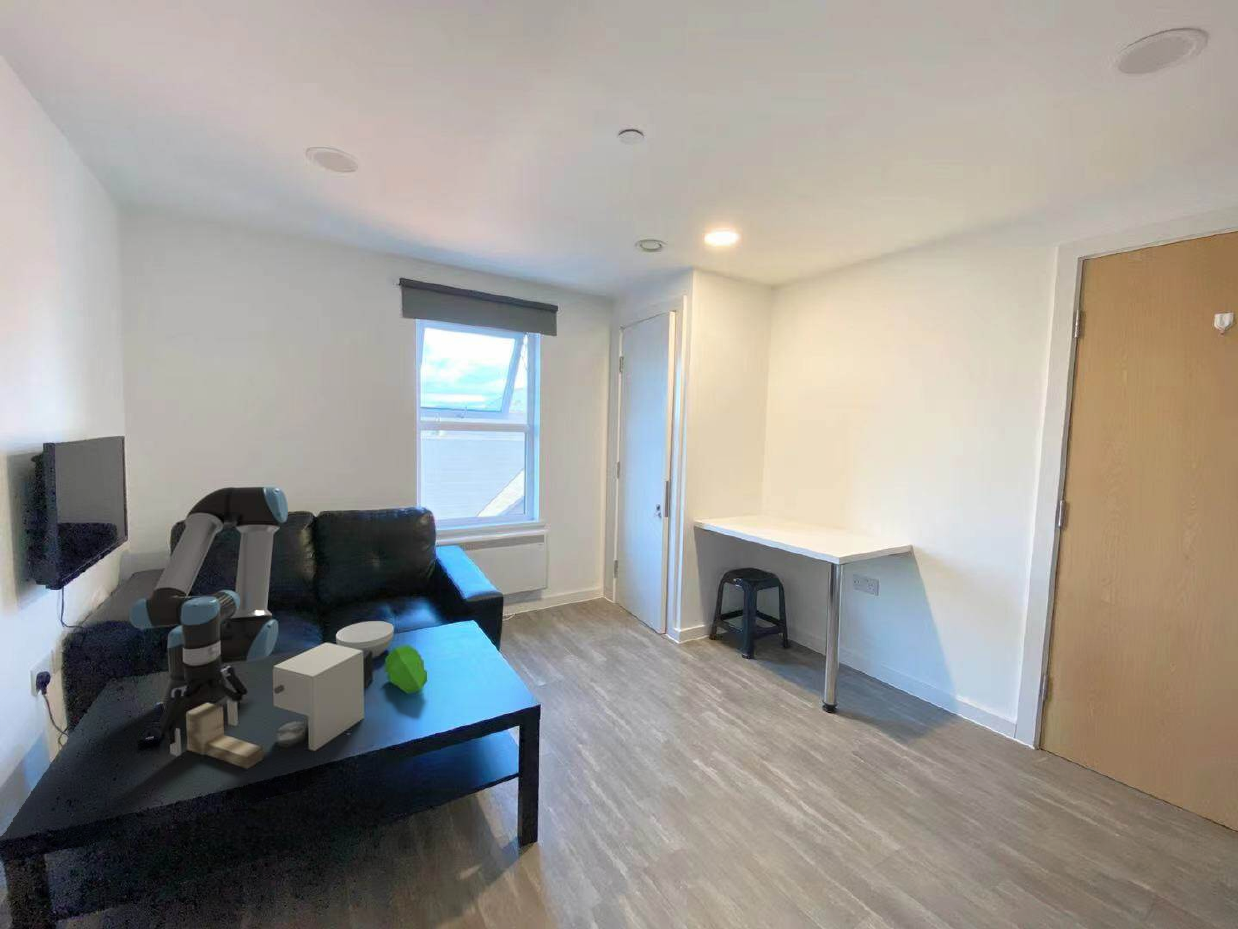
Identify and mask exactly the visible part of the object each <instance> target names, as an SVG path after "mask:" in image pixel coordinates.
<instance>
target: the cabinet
mask: <svg viewBox="0 0 1238 929" xmlns="http://www.w3.org/2000/svg"><path fill="white" fill-rule="evenodd" d="M272 683H273V684H272V686H273V688H272V689H273V691H272V692H273V693H272V694H273V706H274V707H277V708H279V709H283V710H286V711H289V712H292V713H293V712H294V713H297V714H300V715H304V716H307V717H308V718H307V721H308V728H307V729H308V730H307V731H308V750H311V751H314V752H315V751H317V750H318V749H320V748H321V747H323V746H324V745H326V744H327V743H329V742H330V741H332V740H334V739H335V738H336V737H338V736H339V735H340V734H342V733H344V732H345V731H347V730H348V729H351V727H353V726H354V725H355V724H358V722H360V721H362V720H363V719H365V695H364V694H365V693H364V692H365V689H364V676H363V651H362V650H357V649H353V648H348V647H344V646H339V645H337V644H335V643H331V642H323V643H322V644H320V645H318V646H315V647H313V648H311V649H308V650H306V651H304V652H302V653H300V654H297V655H295V656H293V657H291V658H288V659H287V660H284V661H282V662H280V663H278V664H276V665H275V664H274V666H273V669H272Z"/></svg>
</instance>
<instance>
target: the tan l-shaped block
mask: <svg viewBox="0 0 1238 929" xmlns="http://www.w3.org/2000/svg"><path fill="white" fill-rule="evenodd" d="M185 718H186V719H185V723H186V743H187V746H186V747H187V750H188V751H190V752H193V753H196V754H199V755H200V756H201V755H202V756H204V755H207V756H210V757H213V758H216V759H218V760H222V761H224V762H227V763H230V764H232V765H235V766H238V767H241V768H244V769H249V768H251V767H253V766H254V765H256V764H257V763H259V762H260V761H262V760H264V747H263V746H259V745H257V744H253V743H250V742H247V741H244V740H241V739H238V738H236V737H232V736H229V735H227V734H225V733H224V732H225V730H224V729H225V727H224V708H223V706H220V705H216V704H214V703H212V704H210V703H205V704H203V705H201V706H199V707H197V708H194V709H192V710H189V711H188V712H187V713H186V715H185Z"/></svg>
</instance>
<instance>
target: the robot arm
mask: <svg viewBox="0 0 1238 929" xmlns="http://www.w3.org/2000/svg"><path fill="white" fill-rule="evenodd" d="M288 512H289V509H288V501H287V498H286V495H285V492H283V490H282V489H281V488H279V487H269V486H254V487H253V486H251V487H250V486H249V487H248V486H247V487H242V486H241V487H224V488H220V489H219V488H218V489H217V490H214V491H211V492H210V493H209V494H207V495H205V496H204V497H203V498H201V499H200V500H198V502H196V503H195V505H194V506H193V507H192V508H191V509H190V510H189V512H188V513H187V515H186V517H185V519H184V525H185V528H184V530H183V532H182V534H181V536H180V539H179V540H178V542H177V544H176V546H175V547H174V549H173V552H172V554H171V556H170V558H169V560H168V562H167V564H166V566H165V568H164V570H163V572H162V573H161V576H160V577H159V580H158V582H157V584H156V586H155V588H154V589H153V591H152V594H151V595H150V597H149V598H148V597H145V598H142V599H141V598H140V599H138V600H136V602H134V603H133V604H132V606H131V608H130V613H129V621H130V624H131V625H132V626H133V627H134V628H136V629H137V628H138V629H157V628H165V627H175V626H176V627H175V628H173V629H171V631H169V633H168V635H167V644H166V648H167V662H168V664H167V665H168V678H169V679H168V682H167V685H166V688H165V691H164V693H163V696H162V698H161V699H162V701H161V702H162V703H161V704H162V705H163V706H165V709H163V711H162V713H161V716H160V718H159V720H158V723H157V724H156V728H155V732H157V733H159V734H162V735H163V734H165V742H166V744H168V745H169V750H170V752H169V753H170V754H171V755H173V756H176V757H179V756H181V754H182V745H181V743H182V742H181V729H180V728H178V726H179V725H180V724H181V722H182V721H183V719H184V718H185V717H186V713H187V712H188V711H190V710H192V709H194V708H197V707H199V706H201V705H203V704H205V703H210V704H214V703H216V702H217V701H220V700H221V699H223V697H225V696H226V697H228V698H230V699H227V701H226V704H227V724H228V725H231V726H238V725H239V720H238V719H239V717H238V715H239V713H238V712H239V711H240V708H241V701H242V700H243V698H244V697H243V696H244V695H245V696H246V695H247V694H248V689H247V688H246V686H245V685H243V683H242V681H241V680H240V679H239V678H238V676H237V675H236V672H235V668H234V667H233V666H229V665H224V666H223V667H222V665H223V664H232V663H234V664H235V663H243V662H244V663H245V662H247V663H250V662H253V661H261V660H264V659H266V658H268V657H269V656H270V655H271V654H272V652H273V650H274V648H275V646H276V642H277V638H278V635H279V634H278V633H279V623H278V621H277V620H276V619H273V614H272V613H271V612H270V611H269V610H268V600H269V591H270V590H269V589H270V580H271V579H270V578H271V569H272V568H271V566H272V556H273V555H272V553H273V544H274V534H275V533H276V532H277V531H279V530H280V527H281V523H285V522H286V521H287V519H288V515H289V513H288ZM229 524H236V525H235V527H236V528H235V529H236V530H237V531H239V533H240V542H239V552H238V553H239V554H238V560H237V561H238V562H237V574H236V581H235V591H233V590H229V589H223V590H219V591H217V592H215V593H213V594H206V595H205V594H204V595H203V594H202V595H189V593H190V592H191V589H192V586H193V585H194V582H195V580H196V578H197V576H198V573H199V571H200V569H201V567H202V565H203V562H204V560H205V558H206V556H207V554H208V551H209V549H210V548H211V545H212V544H213V541H214V538H215V536H216V534H217V533H220V532H221V531H222V530H223V529H224V526H225V525H229ZM188 595H189V596H188ZM226 680H227V681H226ZM227 682H228V683H230V685H231V687H233V689H234V691H233V690H232V689H230V688H229V687H228V683H227ZM235 691H236V692H235ZM163 706H162V707H163Z"/></svg>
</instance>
